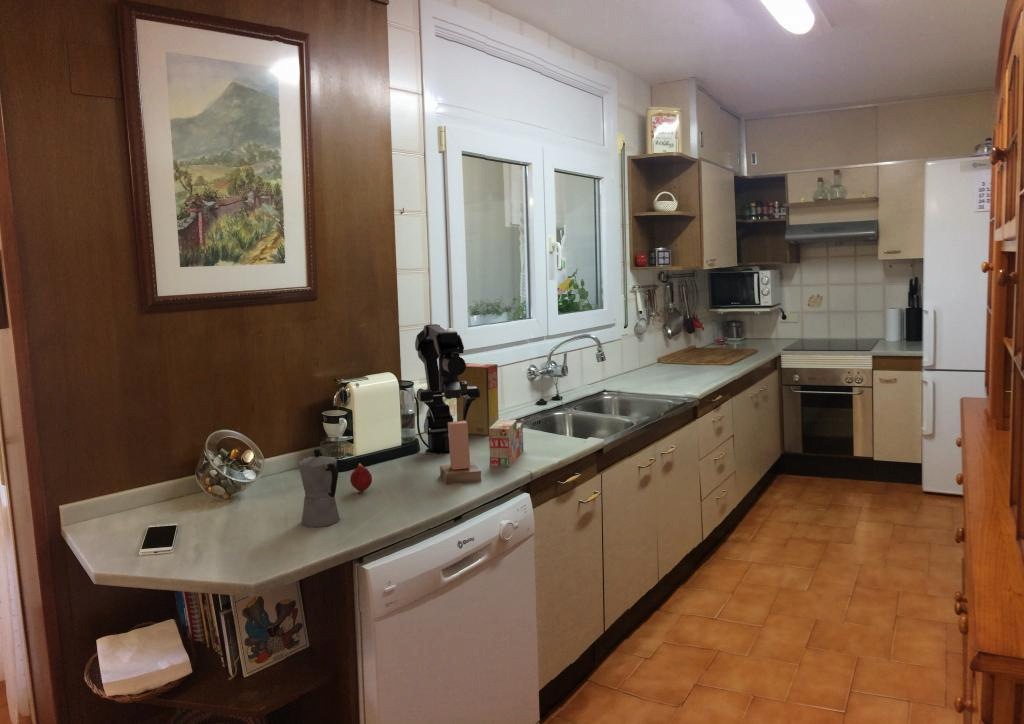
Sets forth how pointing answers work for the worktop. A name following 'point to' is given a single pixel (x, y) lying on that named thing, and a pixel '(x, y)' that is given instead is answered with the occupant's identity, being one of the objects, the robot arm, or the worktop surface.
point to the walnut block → (460, 474)
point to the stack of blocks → (505, 442)
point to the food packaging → (480, 398)
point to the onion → (361, 478)
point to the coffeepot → (319, 490)
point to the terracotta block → (459, 445)
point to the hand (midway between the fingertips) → (449, 421)
